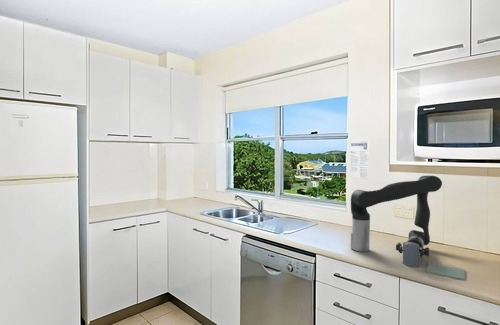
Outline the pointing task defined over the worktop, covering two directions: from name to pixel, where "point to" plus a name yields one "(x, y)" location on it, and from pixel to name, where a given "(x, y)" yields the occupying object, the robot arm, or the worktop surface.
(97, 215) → the worktop surface
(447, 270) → the mat
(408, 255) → the grey octagonal prism
